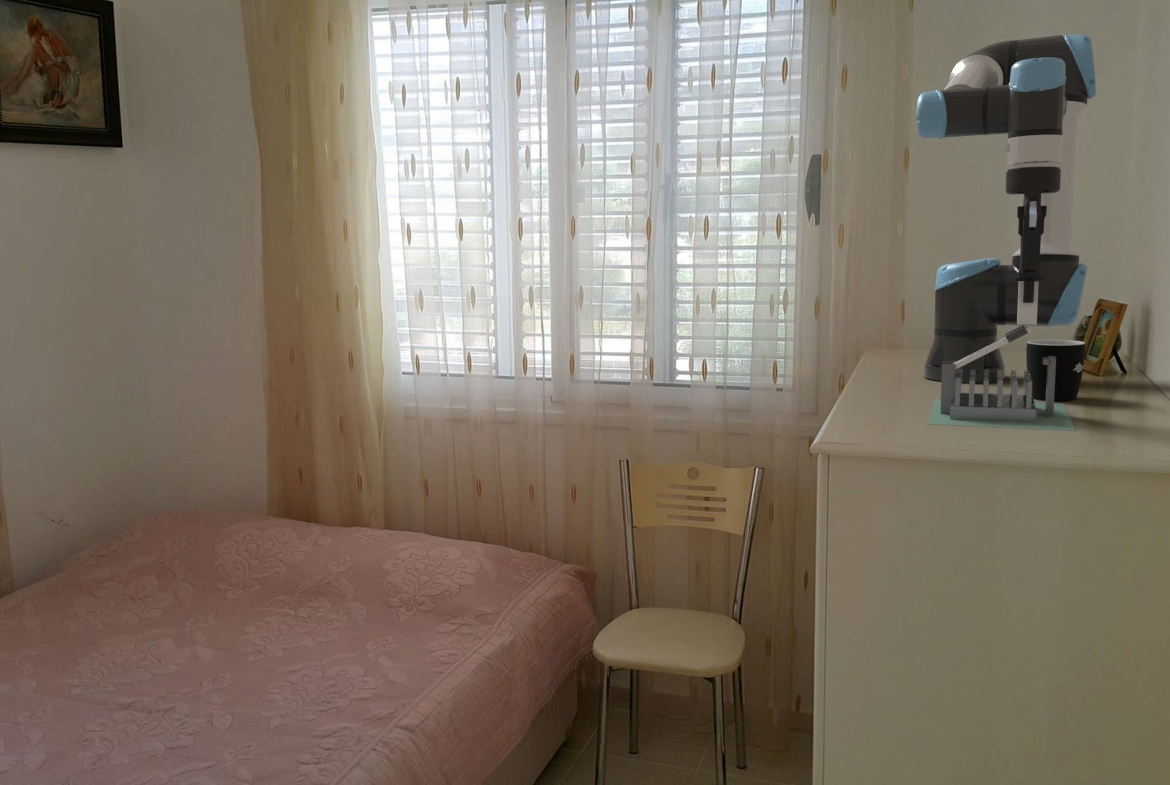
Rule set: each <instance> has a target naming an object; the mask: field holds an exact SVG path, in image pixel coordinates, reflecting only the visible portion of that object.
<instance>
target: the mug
mask: <svg viewBox="0 0 1170 785" xmlns="http://www.w3.org/2000/svg"><path fill="white" fill-rule="evenodd" d="M1025 351H1026V354H1025V355H1026V360H1025V361H1026V371H1029V372H1030V376H1031V379H1032V396H1033V400H1034V401H1042V402H1046V383H1047V365H1043V362H1042V361H1043V357H1048V356H1055V357H1056V370H1055V391H1054V403H1059V402H1060V403H1061V402H1064V403H1065V402H1073V401H1076V399H1077V397H1078V395H1079V392H1080V388H1081V385H1082V384H1081V383H1082V378H1083V373H1084V367H1085V357H1086V356H1085V355H1086V342H1084V341H1081V340H1069V339H1068V340H1067V339H1034V340H1028V341H1027V342H1026V350H1025Z"/></svg>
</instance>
